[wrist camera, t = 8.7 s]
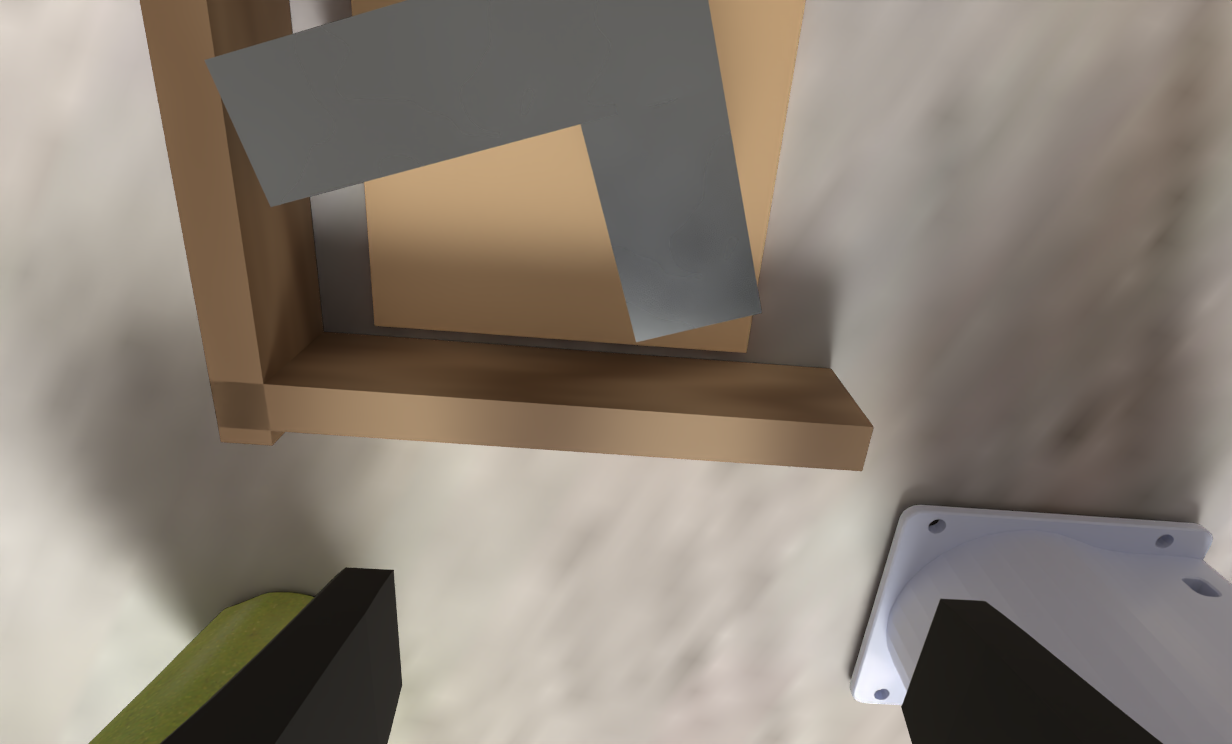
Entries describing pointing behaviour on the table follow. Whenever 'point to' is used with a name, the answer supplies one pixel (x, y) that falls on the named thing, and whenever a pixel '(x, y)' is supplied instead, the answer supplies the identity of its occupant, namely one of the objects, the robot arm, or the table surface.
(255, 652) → the plant pot
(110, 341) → the table surface
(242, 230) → the walls
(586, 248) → the pad
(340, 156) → the bracket
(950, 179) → the table surface
